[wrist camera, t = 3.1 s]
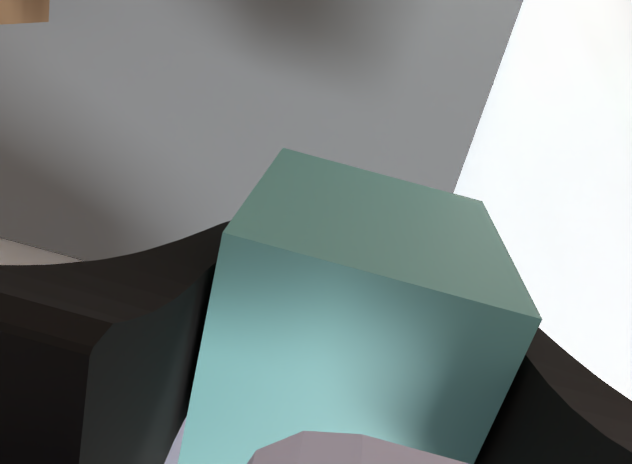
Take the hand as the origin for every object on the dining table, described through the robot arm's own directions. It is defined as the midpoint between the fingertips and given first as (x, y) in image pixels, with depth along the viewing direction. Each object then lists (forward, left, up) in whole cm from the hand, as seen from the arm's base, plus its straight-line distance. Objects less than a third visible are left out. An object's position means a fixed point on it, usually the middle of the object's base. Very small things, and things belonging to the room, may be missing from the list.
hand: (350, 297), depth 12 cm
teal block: (0, 0, -1) cm, 1 cm away
